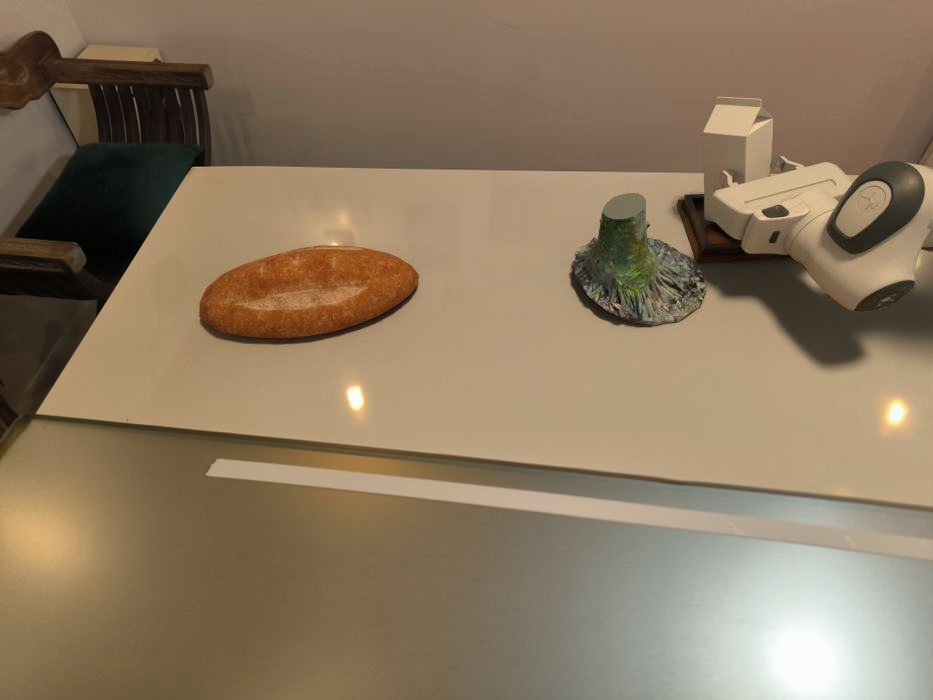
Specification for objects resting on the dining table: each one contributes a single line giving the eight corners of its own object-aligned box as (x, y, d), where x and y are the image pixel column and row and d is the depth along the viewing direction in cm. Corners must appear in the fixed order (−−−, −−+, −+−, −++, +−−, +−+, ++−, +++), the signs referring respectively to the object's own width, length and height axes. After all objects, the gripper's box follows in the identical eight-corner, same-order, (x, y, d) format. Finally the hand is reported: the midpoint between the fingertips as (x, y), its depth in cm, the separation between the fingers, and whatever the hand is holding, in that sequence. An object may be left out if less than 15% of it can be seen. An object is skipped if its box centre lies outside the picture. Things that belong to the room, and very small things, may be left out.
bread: (211, 276, 104) (189, 237, 97) (416, 249, 104) (409, 208, 97) (195, 357, 93) (169, 319, 86) (424, 326, 94) (417, 286, 87)
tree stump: (697, 345, 89) (692, 255, 76) (566, 333, 98) (542, 251, 85) (715, 256, 98) (714, 163, 85) (594, 253, 107) (576, 169, 94)
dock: (762, 198, 107) (767, 187, 105) (791, 258, 97) (797, 246, 96) (676, 203, 107) (679, 192, 105) (697, 263, 98) (700, 251, 96)
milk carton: (743, 229, 96) (747, 108, 85) (704, 220, 101) (702, 105, 90) (768, 209, 99) (775, 90, 88) (728, 202, 104) (730, 88, 93)
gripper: (880, 186, 84) (816, 134, 92) (749, 221, 81) (695, 164, 90) (860, 221, 89) (801, 169, 97) (736, 256, 86) (686, 199, 95)
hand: (749, 167), depth 94 cm, fingers closed on milk carton, 7 cm apart
